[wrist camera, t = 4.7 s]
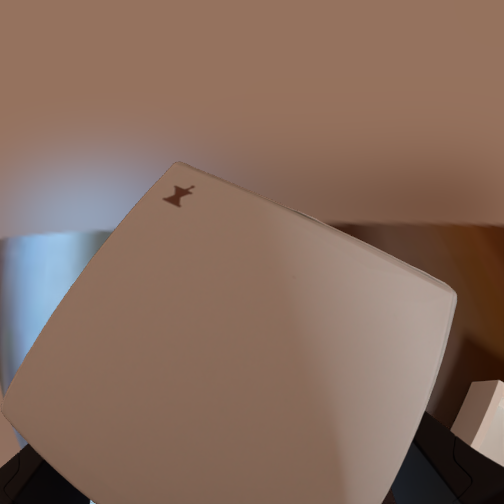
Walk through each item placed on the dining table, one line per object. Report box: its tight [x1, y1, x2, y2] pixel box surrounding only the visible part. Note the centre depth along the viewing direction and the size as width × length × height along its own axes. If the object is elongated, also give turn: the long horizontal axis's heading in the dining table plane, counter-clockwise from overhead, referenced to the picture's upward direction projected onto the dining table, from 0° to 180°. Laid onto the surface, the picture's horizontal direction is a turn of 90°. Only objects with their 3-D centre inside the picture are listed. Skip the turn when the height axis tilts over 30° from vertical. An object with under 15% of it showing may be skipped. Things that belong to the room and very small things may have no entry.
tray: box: [450, 380, 504, 467], centre depth 11 cm, size 13×13×3 cm
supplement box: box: [1, 162, 457, 504], centre depth 10 cm, size 7×7×13 cm
